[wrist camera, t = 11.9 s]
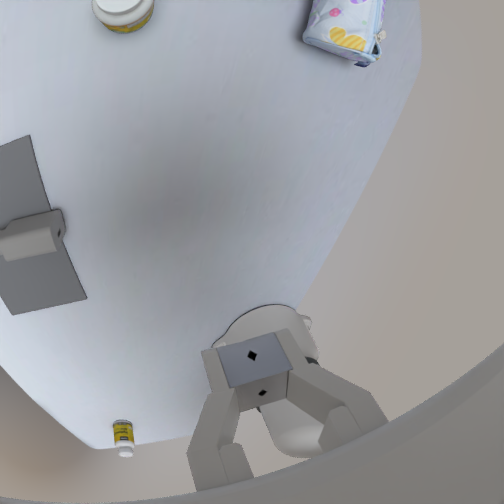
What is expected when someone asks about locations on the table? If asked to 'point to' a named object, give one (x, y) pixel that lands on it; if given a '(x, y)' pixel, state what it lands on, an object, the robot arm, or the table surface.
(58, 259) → the desk mat
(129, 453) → the supplement bottle
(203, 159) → the table surface
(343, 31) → the pencil case
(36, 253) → the power adapter
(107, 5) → the supplement bottle
